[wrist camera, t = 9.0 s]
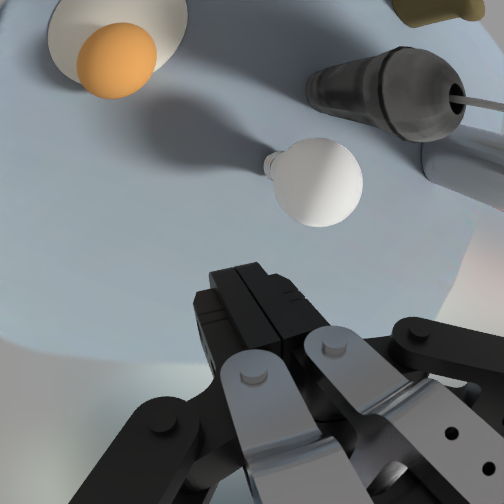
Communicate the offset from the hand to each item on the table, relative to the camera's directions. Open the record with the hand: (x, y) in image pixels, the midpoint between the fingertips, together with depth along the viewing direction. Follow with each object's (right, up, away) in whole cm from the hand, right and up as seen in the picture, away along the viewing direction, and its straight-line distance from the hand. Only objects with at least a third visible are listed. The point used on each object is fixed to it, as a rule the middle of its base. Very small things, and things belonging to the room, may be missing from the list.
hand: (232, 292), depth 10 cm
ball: (-9, +15, +8) cm, 19 cm away
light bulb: (+3, +10, +19) cm, 22 cm away
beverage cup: (+8, +17, +18) cm, 26 cm away
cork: (+20, +32, +16) cm, 41 cm away
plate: (-10, +20, +8) cm, 24 cm away
